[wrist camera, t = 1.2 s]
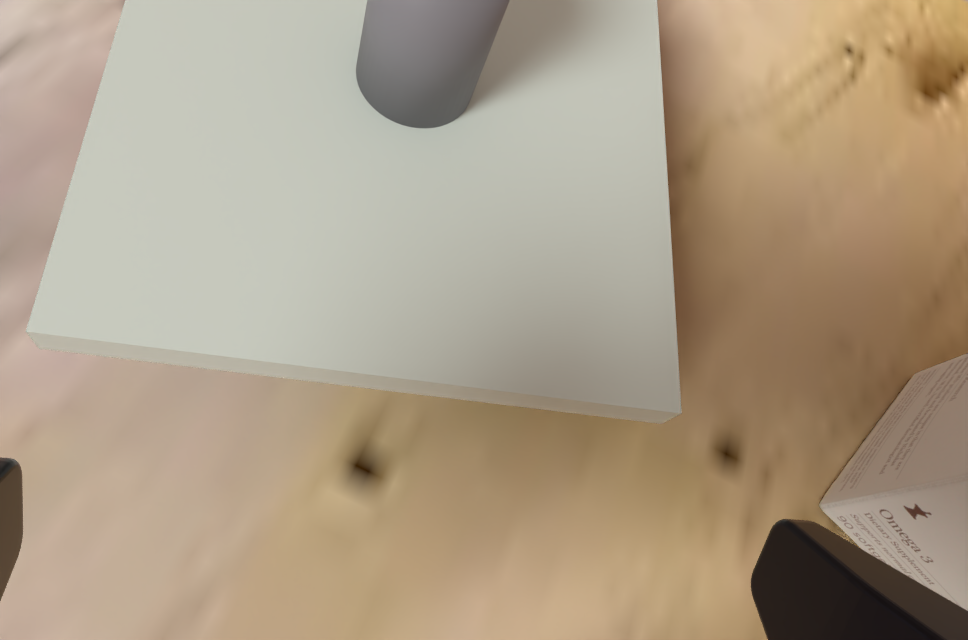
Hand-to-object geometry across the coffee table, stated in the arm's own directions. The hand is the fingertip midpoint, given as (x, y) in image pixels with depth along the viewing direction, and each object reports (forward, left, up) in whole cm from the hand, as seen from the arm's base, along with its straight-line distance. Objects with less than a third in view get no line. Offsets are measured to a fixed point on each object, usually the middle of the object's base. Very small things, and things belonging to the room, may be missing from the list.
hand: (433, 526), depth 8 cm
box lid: (+8, -8, -8) cm, 14 cm away
